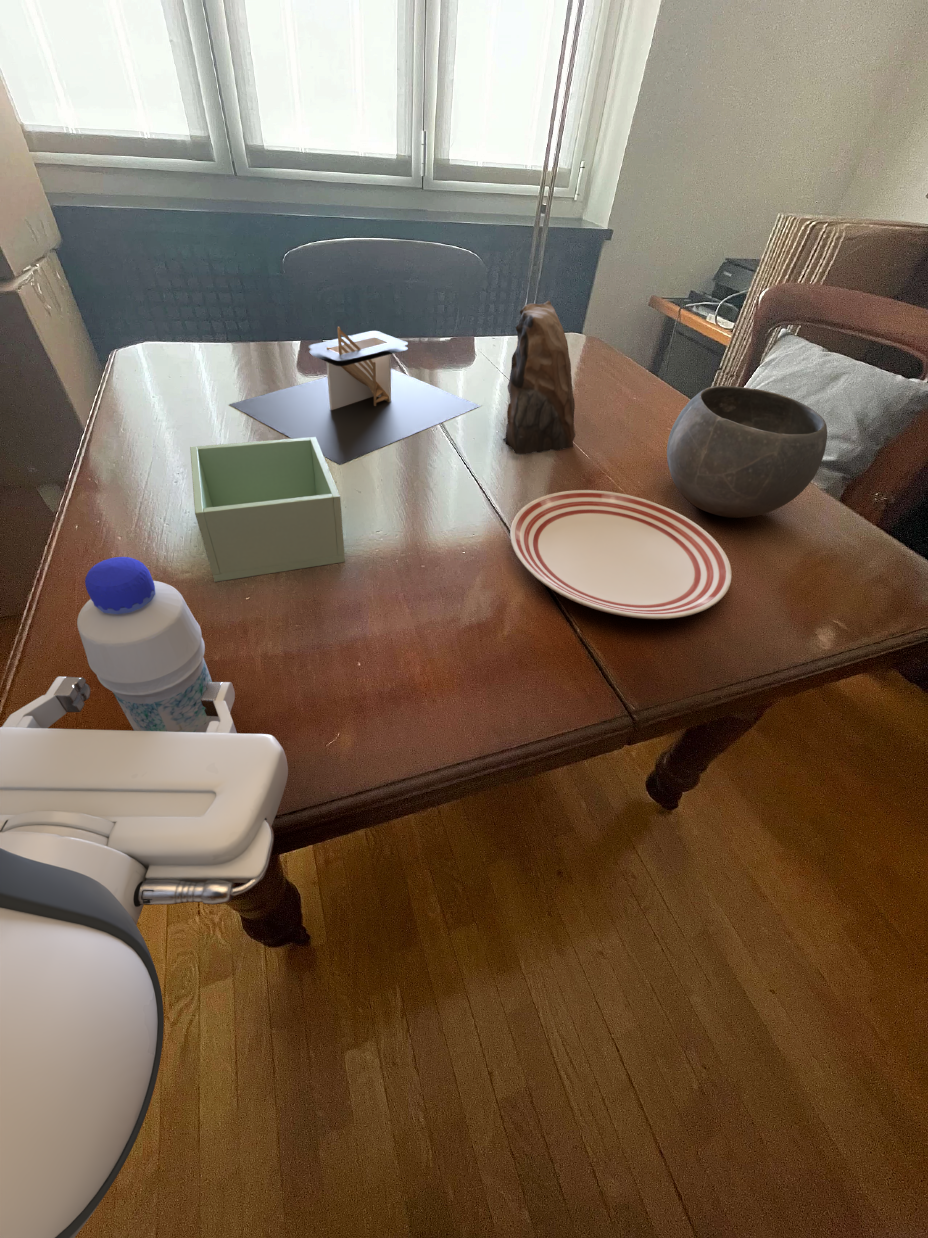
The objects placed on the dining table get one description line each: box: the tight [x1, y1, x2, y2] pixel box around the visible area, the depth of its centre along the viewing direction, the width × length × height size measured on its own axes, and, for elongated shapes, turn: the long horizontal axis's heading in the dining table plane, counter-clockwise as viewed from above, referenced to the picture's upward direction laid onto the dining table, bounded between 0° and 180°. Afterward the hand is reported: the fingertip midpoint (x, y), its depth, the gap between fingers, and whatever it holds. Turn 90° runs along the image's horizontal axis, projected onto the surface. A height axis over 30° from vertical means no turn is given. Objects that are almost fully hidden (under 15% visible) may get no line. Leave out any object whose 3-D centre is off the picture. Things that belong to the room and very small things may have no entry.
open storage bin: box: [189, 437, 346, 583], centre depth 65 cm, size 15×15×9 cm
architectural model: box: [229, 326, 481, 465], centre depth 94 cm, size 35×28×14 cm
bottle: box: [76, 556, 220, 733], centre depth 38 cm, size 7×7×20 cm
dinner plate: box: [509, 489, 732, 620], centre depth 69 cm, size 28×27×3 cm
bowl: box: [666, 385, 828, 519], centre depth 79 cm, size 20×20×15 cm
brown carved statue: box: [502, 300, 576, 455], centre depth 89 cm, size 13×13×20 cm
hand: (150, 684), depth 37 cm, fingers open, 8 cm apart
